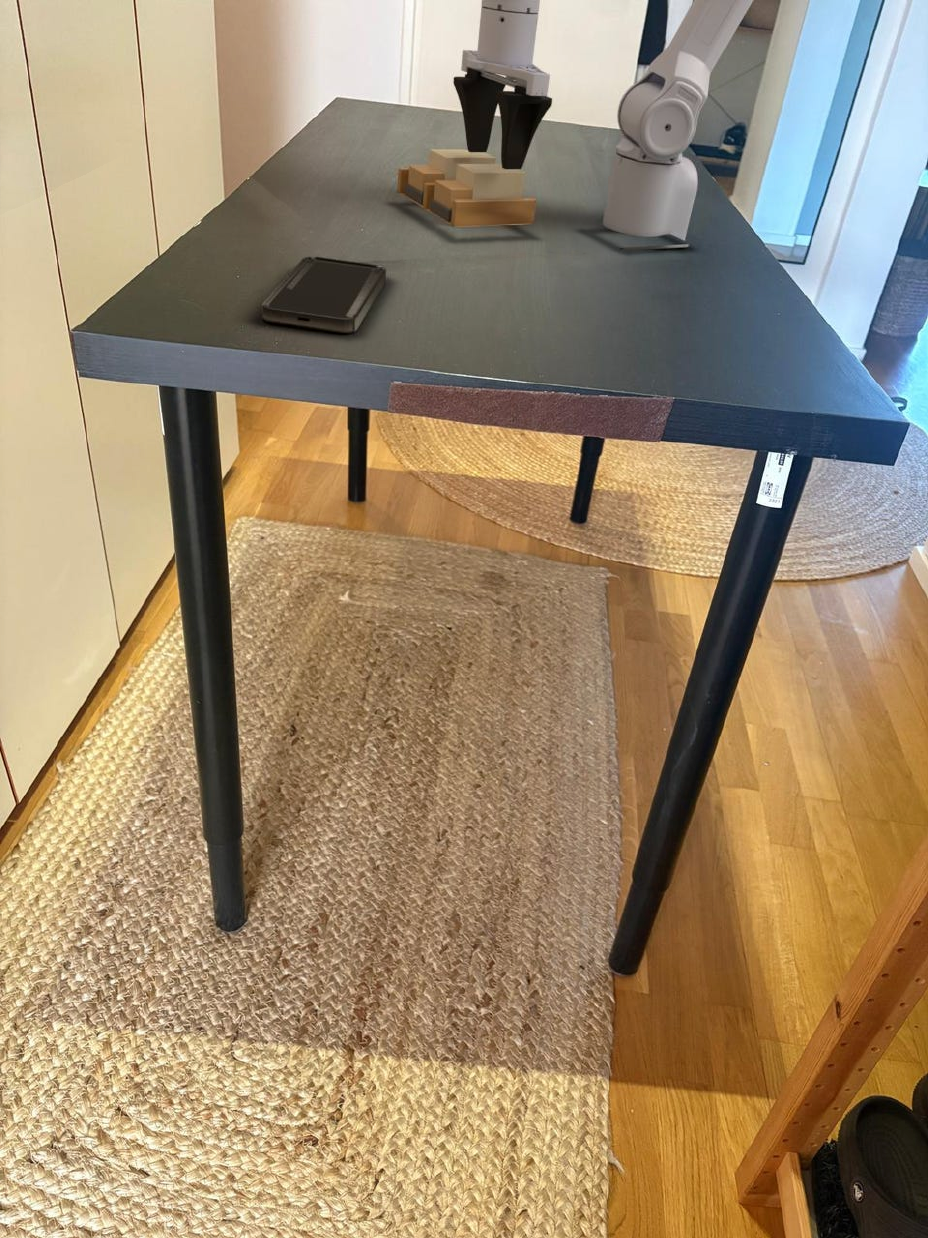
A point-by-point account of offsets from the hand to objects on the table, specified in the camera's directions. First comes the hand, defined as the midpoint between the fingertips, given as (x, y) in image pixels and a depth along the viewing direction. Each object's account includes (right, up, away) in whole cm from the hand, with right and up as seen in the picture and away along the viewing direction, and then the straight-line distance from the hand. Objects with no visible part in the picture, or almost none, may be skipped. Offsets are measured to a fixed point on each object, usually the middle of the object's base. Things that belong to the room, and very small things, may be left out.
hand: (493, 159), depth 99 cm
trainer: (-2, -5, +3) cm, 6 cm away
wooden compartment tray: (-3, -4, +6) cm, 8 cm away
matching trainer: (-5, -1, +7) cm, 9 cm away
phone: (-15, -22, -19) cm, 33 cm away
